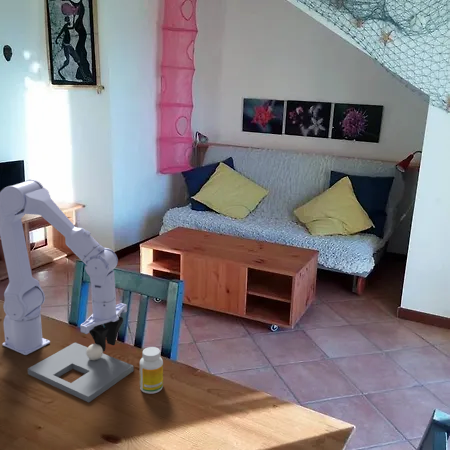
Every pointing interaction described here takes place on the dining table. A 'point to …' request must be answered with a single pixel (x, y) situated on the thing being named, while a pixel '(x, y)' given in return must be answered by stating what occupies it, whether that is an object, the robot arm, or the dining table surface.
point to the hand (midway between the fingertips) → (106, 347)
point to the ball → (94, 352)
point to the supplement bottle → (151, 370)
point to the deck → (93, 369)
